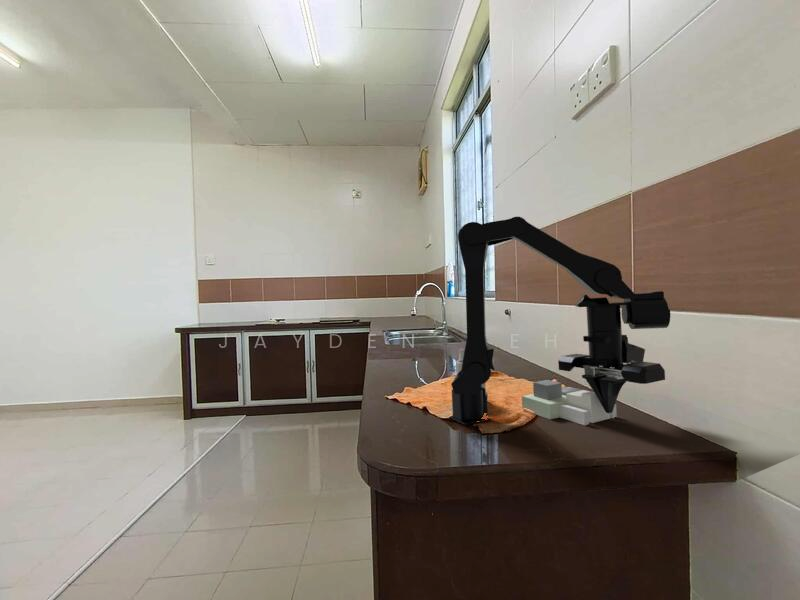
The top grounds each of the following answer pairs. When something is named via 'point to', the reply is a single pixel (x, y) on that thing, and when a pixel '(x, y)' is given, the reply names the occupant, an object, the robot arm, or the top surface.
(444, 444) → the top surface
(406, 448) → the top surface
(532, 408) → the green block with prongs
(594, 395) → the white lidded box
